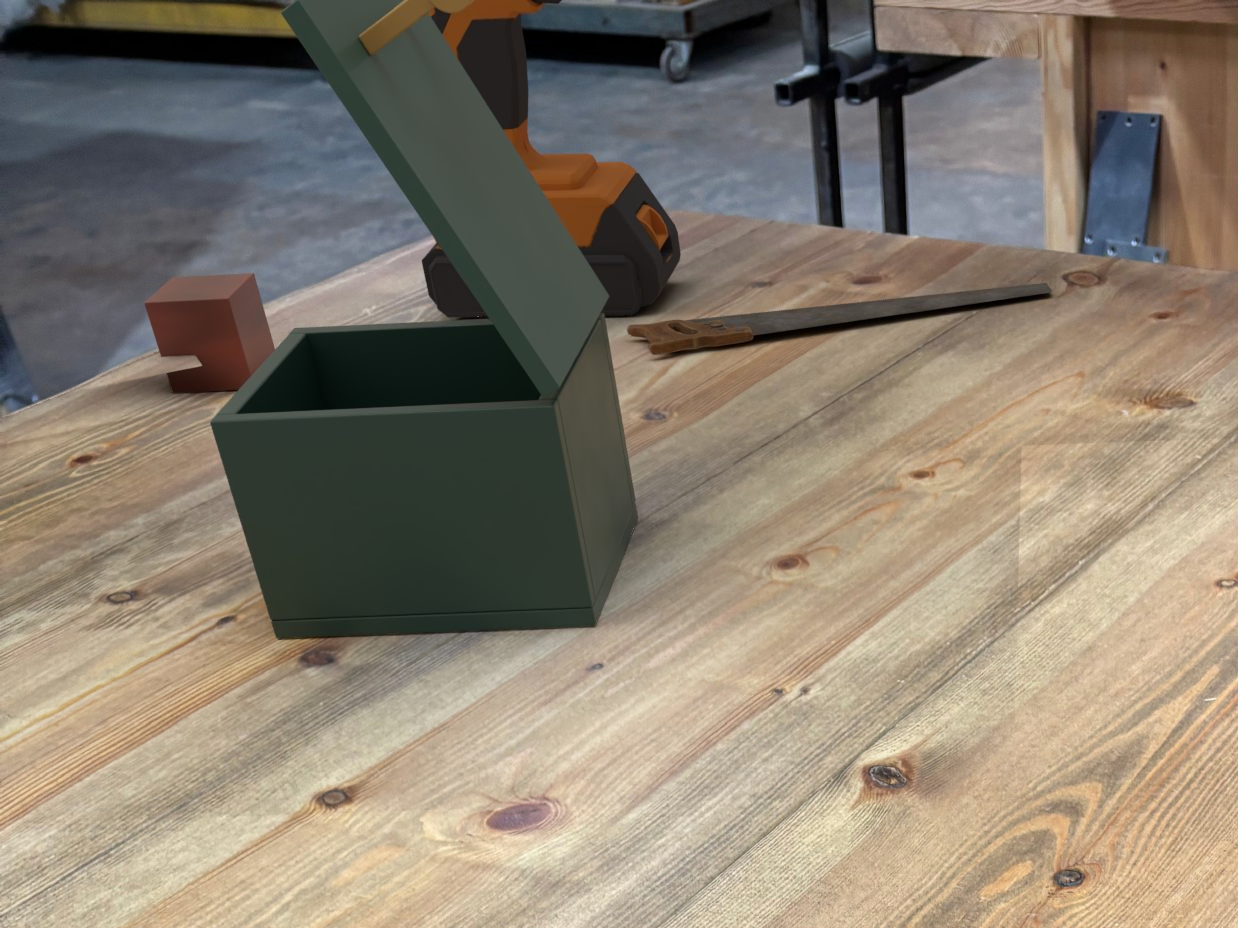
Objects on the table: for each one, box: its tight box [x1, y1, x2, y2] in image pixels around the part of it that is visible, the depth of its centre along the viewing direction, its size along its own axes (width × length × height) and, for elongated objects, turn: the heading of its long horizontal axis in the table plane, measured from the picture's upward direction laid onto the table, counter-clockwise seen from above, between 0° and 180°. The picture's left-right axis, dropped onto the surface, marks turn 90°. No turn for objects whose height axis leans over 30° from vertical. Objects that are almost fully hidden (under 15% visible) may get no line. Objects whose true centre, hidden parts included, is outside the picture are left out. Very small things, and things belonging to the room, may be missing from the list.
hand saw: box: [626, 282, 1053, 356], centre depth 110 cm, size 24×5×1 cm, turn 108°
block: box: [144, 272, 276, 394], centre depth 106 cm, size 5×5×5 cm
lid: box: [280, 0, 609, 398], centre depth 74 cm, size 14×12×6 cm
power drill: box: [421, 0, 682, 319], centre depth 106 cm, size 22×7×25 cm, turn 85°
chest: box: [209, 313, 639, 639], centre depth 82 cm, size 14×12×9 cm
